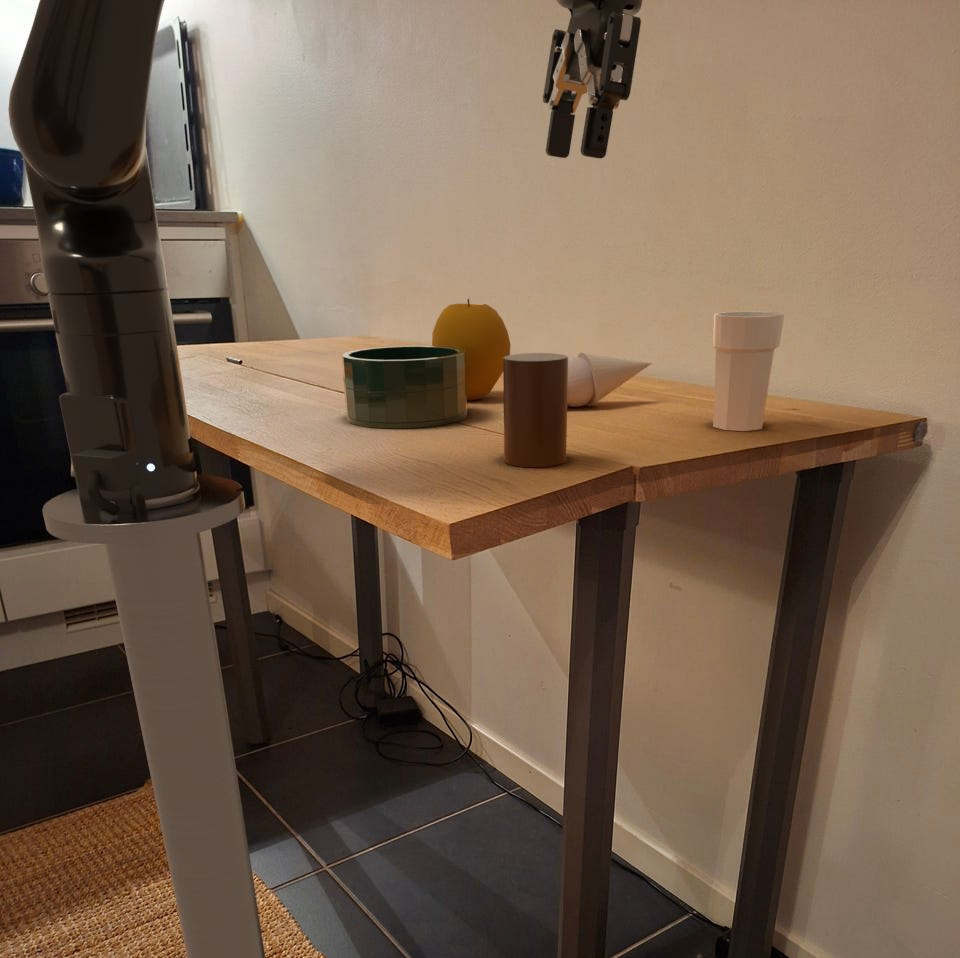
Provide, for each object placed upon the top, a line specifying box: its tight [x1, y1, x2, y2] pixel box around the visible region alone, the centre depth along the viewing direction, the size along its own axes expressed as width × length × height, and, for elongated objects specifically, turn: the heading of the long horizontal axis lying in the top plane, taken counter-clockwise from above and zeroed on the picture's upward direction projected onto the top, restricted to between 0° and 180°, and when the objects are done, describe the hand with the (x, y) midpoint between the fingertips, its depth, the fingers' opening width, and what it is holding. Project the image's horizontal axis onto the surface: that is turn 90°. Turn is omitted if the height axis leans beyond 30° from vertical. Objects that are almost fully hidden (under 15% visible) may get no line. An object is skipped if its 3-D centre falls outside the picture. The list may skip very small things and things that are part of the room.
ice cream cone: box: [567, 352, 653, 408], centre depth 106 cm, size 6×6×15 cm
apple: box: [431, 298, 512, 401], centre depth 111 cm, size 10×10×12 cm
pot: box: [341, 345, 468, 430], centre depth 101 cm, size 14×14×7 cm
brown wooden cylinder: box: [502, 352, 569, 468], centre depth 80 cm, size 6×6×9 cm
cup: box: [712, 311, 785, 432], centre depth 92 cm, size 7×7×11 cm
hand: (573, 157), depth 83 cm, fingers open, 8 cm apart
